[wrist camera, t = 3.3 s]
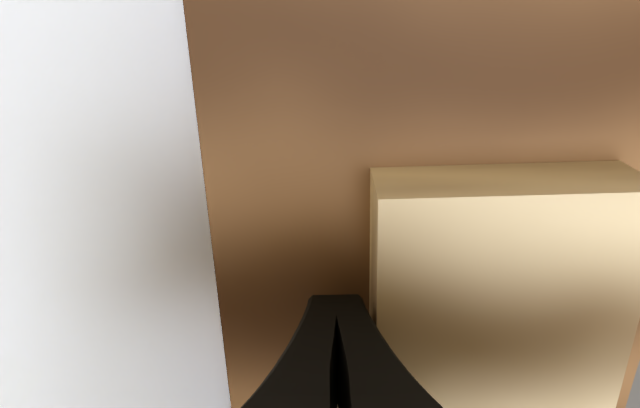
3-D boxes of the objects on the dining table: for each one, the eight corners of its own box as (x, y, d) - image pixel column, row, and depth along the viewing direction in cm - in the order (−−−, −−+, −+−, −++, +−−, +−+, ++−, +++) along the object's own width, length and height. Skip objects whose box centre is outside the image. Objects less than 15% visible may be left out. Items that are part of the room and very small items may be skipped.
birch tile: (565, 410, 15) (599, 468, 13) (368, 414, 15) (374, 472, 13) (620, 160, 12) (674, 191, 10) (370, 167, 12) (378, 199, 10)
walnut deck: (543, 427, 21) (591, 521, 17) (258, 429, 21) (244, 523, 17) (648, -55, 14) (769, -72, 10) (215, -46, 14) (175, -59, 10)
